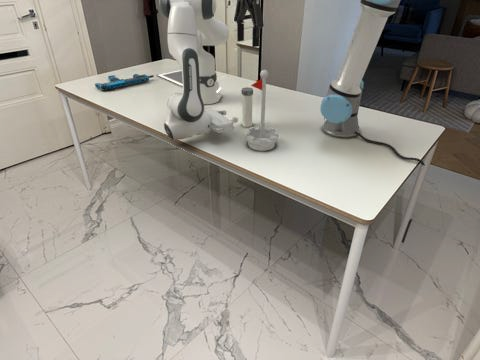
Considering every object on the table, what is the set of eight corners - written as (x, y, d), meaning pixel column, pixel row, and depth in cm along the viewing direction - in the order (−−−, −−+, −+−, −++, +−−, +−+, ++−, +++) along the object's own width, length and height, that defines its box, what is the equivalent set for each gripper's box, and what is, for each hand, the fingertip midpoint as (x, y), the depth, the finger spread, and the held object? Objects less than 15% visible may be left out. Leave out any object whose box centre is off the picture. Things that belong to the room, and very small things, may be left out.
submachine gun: (139, 68, 225) (158, 74, 208) (140, 74, 226) (158, 80, 210) (87, 78, 206) (103, 86, 189) (89, 84, 208) (104, 92, 191)
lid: (243, 91, 150) (243, 86, 149) (254, 92, 149) (254, 87, 148) (240, 95, 146) (240, 90, 144) (251, 96, 145) (251, 91, 143)
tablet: (157, 75, 221) (157, 74, 221) (183, 69, 232) (183, 69, 232) (184, 87, 201) (183, 86, 200) (211, 80, 212) (211, 79, 211)
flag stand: (269, 135, 146) (272, 63, 129) (283, 148, 135) (289, 72, 119) (241, 140, 142) (241, 67, 125) (253, 154, 132) (254, 76, 115)
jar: (243, 122, 157) (243, 88, 149) (252, 123, 157) (253, 88, 148) (241, 126, 154) (241, 91, 145) (250, 127, 153) (251, 92, 144)
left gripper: (214, 124, 133) (244, 116, 139) (191, 108, 147) (219, 101, 153) (215, 139, 136) (244, 130, 142) (193, 121, 151) (219, 115, 157)
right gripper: (275, -18, 117) (272, 48, 129) (242, -21, 134) (242, 37, 146) (256, -17, 114) (254, 50, 126) (225, -21, 132) (226, 39, 143)
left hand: (231, 115), depth 148 cm, fingers open, 8 cm apart
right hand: (247, 43), depth 136 cm, fingers open, 12 cm apart
